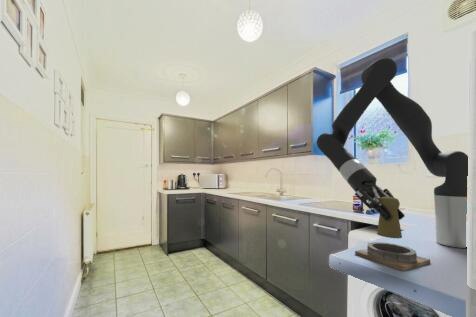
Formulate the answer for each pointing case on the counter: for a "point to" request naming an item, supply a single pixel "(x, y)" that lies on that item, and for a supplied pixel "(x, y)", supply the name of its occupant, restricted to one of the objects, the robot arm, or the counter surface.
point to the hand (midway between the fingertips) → (395, 218)
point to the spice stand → (392, 255)
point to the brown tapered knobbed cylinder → (393, 225)
